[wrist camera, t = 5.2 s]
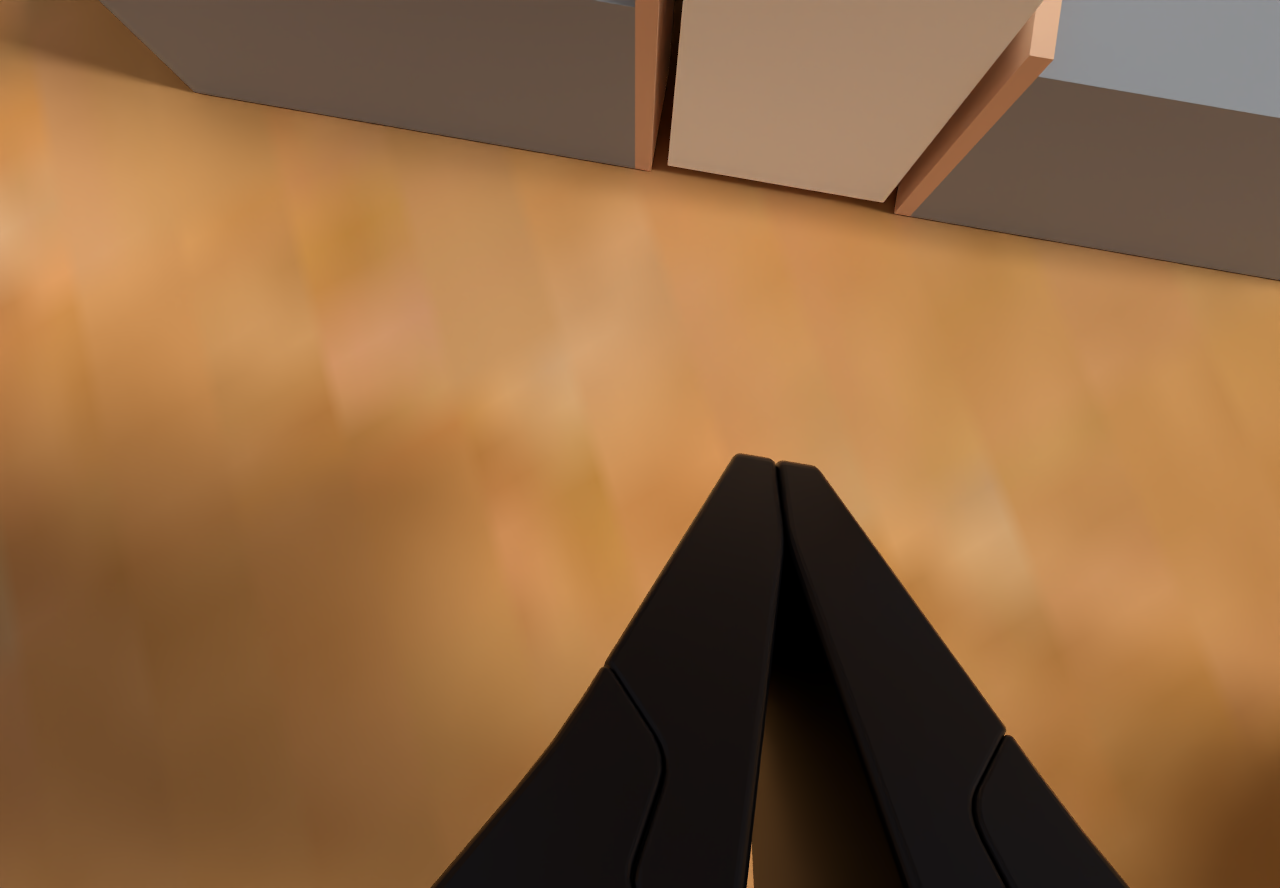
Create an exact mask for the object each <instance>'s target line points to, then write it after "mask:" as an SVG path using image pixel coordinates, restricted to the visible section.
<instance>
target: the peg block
mask: <svg viewBox="0 0 1280 888" xmlns="http://www.w3.org/2000/svg"><path fill="white" fill-rule="evenodd" d="M1043 1H1044V0H683V7H682V17H681V28H680V39H679V50H678V60H677V71H676V82H675V92H674V103H673V114H672V124H671V135H670V146H669V157H668V166H674V167H680V168H686V169H691V170H697V171H703V172H709V173H715V174H720V175H726V176H732V177H738V178H743V179H749V180H755V181H761V182H766V183H772V184H778V185H784V186H790V187H795V188H801V189H807V190H813V191H818V192H824V193H830V194H836V195H842V196H847V197H853V198H859V199H865V200H870V201H876V202H882V203H883V202H884V201H885V200H886V199H887V197H888V196H889V195H890V193H891V192H892V191H893V190H894V188H895V187H896V186H897V185H898V183H899V182H900V181H901V180H902V178H903V177H904V176H905V175H906V173H907V172H908V171H909V170H910V168H911V167H912V166H913V164H914V163H915V162H916V161H917V159H918V158H919V157H920V156H921V154H922V153H923V152H924V151H925V149H926V148H927V147H928V146H929V144H930V143H931V142H932V141H933V139H934V138H935V137H936V135H937V134H938V133H939V132H940V130H941V129H942V128H943V127H944V125H945V124H946V123H947V122H948V120H949V119H950V118H951V117H952V115H953V114H954V113H955V112H956V110H957V109H958V108H959V106H960V105H961V104H962V103H963V101H964V100H965V99H966V98H967V96H968V95H969V94H970V93H971V91H972V90H973V89H974V88H975V86H976V85H977V84H978V83H979V81H980V80H981V79H982V77H983V76H984V75H985V74H986V72H987V71H988V70H989V69H990V67H991V66H992V65H993V64H994V62H995V61H996V60H997V59H998V57H999V56H1000V55H1001V53H1002V52H1003V51H1004V50H1005V48H1006V47H1007V46H1008V45H1009V43H1010V42H1011V41H1012V40H1013V38H1014V37H1015V36H1016V35H1017V33H1018V32H1019V31H1020V30H1021V28H1022V27H1023V26H1024V24H1025V23H1026V22H1027V21H1028V19H1029V18H1030V17H1031V16H1032V14H1033V13H1034V12H1035V11H1036V9H1037V8H1038V7H1039V6H1040V4H1041V3H1042V2H1043Z"/></svg>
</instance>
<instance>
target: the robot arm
mask: <svg viewBox="0 0 1280 888" xmlns="http://www.w3.org/2000/svg"><path fill="white" fill-rule="evenodd" d="M1005 732H1006V728H1005V726H1004V725H1003V723H1002V722H1001V720H1000V719H999V718H998V716H997V715H996V714H995V712H994V711H993V709H992V708H991V707H990V705H989V704H988V702H987V701H986V700H985V698H984V697H983V696H982V694H981V693H980V691H979V690H978V689H977V687H976V686H975V684H974V683H973V682H972V680H971V679H970V678H969V676H968V675H967V673H966V672H965V671H964V669H963V668H962V666H961V665H960V664H959V662H958V661H957V660H956V658H955V657H954V655H953V654H952V653H951V651H950V650H949V648H948V647H947V646H946V644H945V643H944V642H943V640H942V639H941V637H940V636H939V635H938V633H937V632H936V631H935V629H934V628H933V626H932V625H931V624H930V622H929V621H928V619H927V618H926V617H925V615H924V614H923V613H922V611H921V610H920V608H919V607H918V606H917V604H916V603H915V601H914V600H913V599H912V597H911V596H910V595H909V593H908V592H907V590H906V589H905V588H904V586H903V585H902V583H901V582H900V581H899V579H898V578H897V577H896V575H895V574H894V572H893V571H892V570H891V568H890V567H889V565H888V564H887V563H886V561H885V560H884V559H883V557H882V556H881V554H880V553H879V552H878V550H877V549H876V547H875V546H874V545H873V543H872V542H871V541H870V539H869V538H868V536H867V535H866V534H865V532H864V531H863V529H862V528H861V527H860V525H859V524H858V523H857V521H856V520H855V518H854V517H853V516H852V514H851V513H850V512H849V510H848V509H847V507H846V506H845V505H844V503H843V502H842V500H841V499H840V498H839V496H838V495H837V494H836V492H835V491H834V489H833V488H832V487H831V485H830V484H829V482H828V481H827V480H826V478H825V477H824V476H823V474H822V473H821V471H820V470H819V469H818V468H816V467H815V466H812V465H807V464H801V463H795V462H789V461H779V462H778V463H776V465H775V462H774V461H773V460H771V459H770V458H765V457H759V456H753V455H748V454H742V453H741V454H736V455H735V456H734V457H733V458H732V460H731V461H730V463H729V464H728V466H727V468H726V469H725V471H724V472H723V474H722V476H721V477H720V479H719V480H718V482H717V484H716V485H715V487H714V488H713V490H712V492H711V493H710V495H709V496H708V498H707V500H706V501H705V503H704V504H703V506H702V508H701V509H700V511H699V512H698V514H697V516H696V517H695V519H694V520H693V522H692V524H691V525H690V527H689V528H688V530H687V532H686V533H685V535H684V536H683V538H682V540H681V541H680V543H679V544H678V546H677V548H676V549H675V551H674V552H673V554H672V556H671V557H670V559H669V560H668V562H667V564H666V565H665V567H664V568H663V570H662V572H661V573H660V575H659V576H658V578H657V580H656V581H655V583H654V584H653V586H652V588H651V589H650V591H649V592H648V594H647V596H646V597H645V599H644V600H643V602H642V604H641V605H640V607H639V608H638V610H637V612H636V613H635V615H634V616H633V618H632V620H631V621H630V623H629V624H628V626H627V628H626V629H625V631H624V632H623V634H622V636H621V637H620V639H619V640H618V642H617V644H616V645H615V647H614V648H613V650H612V652H611V653H610V655H609V656H608V658H607V660H606V661H605V665H604V667H602V668H601V669H600V670H599V672H598V673H597V675H596V676H595V678H594V679H593V681H592V683H591V684H590V686H589V687H588V689H587V691H586V692H585V694H584V695H583V697H582V698H581V700H580V701H579V703H578V704H577V706H576V707H575V709H574V710H573V712H572V713H571V715H570V716H569V718H568V719H567V720H566V722H565V723H564V725H563V726H562V728H561V729H560V731H559V732H558V734H557V735H556V737H555V738H554V740H553V741H552V742H551V744H550V745H549V746H548V747H547V749H546V750H545V751H544V752H543V754H542V755H541V756H540V758H539V759H538V760H537V761H536V763H535V764H534V765H533V766H532V768H531V769H530V770H529V772H528V773H527V774H526V775H525V777H524V778H523V779H522V780H521V782H520V783H519V784H518V785H517V787H516V788H515V789H514V790H513V792H512V793H511V794H510V795H509V796H508V798H507V799H506V800H505V801H504V802H503V803H502V805H501V806H500V807H499V808H498V809H497V810H496V812H495V813H494V814H493V815H492V816H491V818H490V819H489V820H488V821H487V822H486V823H485V825H484V826H483V827H482V828H481V829H480V830H479V832H478V833H477V834H476V835H475V836H474V837H473V839H472V840H471V841H470V842H469V843H468V845H467V846H466V847H465V848H464V849H463V850H462V852H461V853H460V854H459V855H458V856H457V857H456V859H455V860H454V861H453V862H452V863H451V864H450V866H449V867H448V868H447V869H446V870H445V872H444V873H443V874H442V875H441V876H440V877H439V879H438V880H437V881H436V882H435V883H434V884H433V886H432V887H431V888H746V887H747V878H748V870H749V861H750V852H751V843H752V857H753V879H754V888H1130V887H1129V886H1128V885H1127V884H1126V882H1125V881H1124V880H1123V879H1122V878H1121V876H1120V875H1119V874H1118V873H1117V872H1116V870H1115V869H1114V868H1113V867H1112V865H1111V864H1110V863H1109V862H1108V861H1107V859H1106V858H1105V857H1104V856H1103V855H1102V853H1101V852H1100V851H1099V850H1098V849H1097V847H1096V846H1095V845H1094V844H1093V842H1092V841H1091V840H1090V839H1089V838H1088V836H1087V835H1086V834H1085V833H1084V832H1083V830H1082V829H1081V828H1080V826H1079V825H1078V824H1077V823H1076V821H1075V820H1074V819H1073V817H1072V816H1071V815H1070V813H1069V812H1068V811H1067V809H1066V808H1065V807H1064V805H1063V804H1062V803H1061V801H1060V800H1059V799H1058V797H1057V796H1056V795H1055V794H1054V792H1053V791H1052V790H1051V788H1050V787H1049V786H1048V784H1047V783H1046V782H1045V780H1044V779H1043V778H1042V776H1041V775H1040V774H1039V772H1038V771H1037V770H1036V768H1035V767H1034V766H1033V764H1032V763H1031V761H1030V760H1029V759H1028V757H1027V756H1026V754H1025V753H1024V752H1023V750H1022V749H1021V748H1020V746H1019V745H1018V743H1017V742H1016V741H1015V739H1014V738H1013V737H1012V736H1010V735H1005ZM1004 735H1005V736H1004Z"/></svg>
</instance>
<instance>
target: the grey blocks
mask: <svg viewBox="0 0 1280 888" xmlns="http://www.w3.org/2000/svg"><path fill="white" fill-rule="evenodd" d="M99 1H100V2H101V3H102V4H103V5H104V6H105V7H106V8H107V9H108V10H109V11H111V12H112V13H113V14H114V15H115V16H116V17H117V18H118V19H119V20H120V21H121V22H122V23H123V24H124V25H125V26H126V27H127V28H128V29H129V30H130V31H131V32H132V33H133V34H134V35H135V36H137V37H138V38H139V39H140V40H141V41H142V42H143V43H144V44H145V45H146V46H147V47H148V48H149V49H150V50H151V51H152V52H153V53H154V54H155V55H156V56H157V57H158V58H159V59H160V60H161V61H163V62H164V63H165V64H166V65H167V66H168V67H169V68H170V69H171V70H172V71H173V72H174V73H175V74H176V75H177V76H178V77H179V78H180V79H181V80H182V81H183V82H184V83H185V84H186V85H187V86H189V87H190V88H191V89H192V90H193V91H194V92H196V93H202V94H208V95H214V96H219V97H225V98H231V99H237V100H242V101H248V102H254V103H260V104H266V105H271V106H277V107H283V108H289V109H294V110H300V111H306V112H312V113H317V114H323V115H329V116H335V117H341V118H346V119H352V120H358V121H364V122H369V123H375V124H381V125H387V126H392V127H398V128H404V129H410V130H416V131H421V132H427V133H433V134H439V135H444V136H450V137H456V138H462V139H467V140H473V141H479V142H485V143H491V144H496V145H502V146H508V147H514V148H519V149H525V150H531V151H537V152H542V153H548V154H554V155H560V156H566V157H571V158H577V159H583V160H589V161H594V162H600V163H606V164H612V165H617V166H623V167H629V168H635V169H641V170H646V171H651V168H652V162H653V157H654V151H655V146H656V140H657V135H658V129H659V124H660V118H661V113H662V107H663V102H664V96H665V90H666V85H667V79H668V74H669V66H670V53H671V40H672V27H673V14H674V1H675V0H99ZM894 214H900V215H906V216H912V217H918V218H923V219H929V220H935V221H941V222H946V223H952V224H958V225H964V226H969V227H975V228H981V229H987V230H993V231H998V232H1004V233H1010V234H1016V235H1021V236H1027V237H1033V238H1039V239H1044V240H1050V241H1056V242H1062V243H1068V244H1073V245H1079V246H1085V247H1091V248H1096V249H1102V250H1108V251H1114V252H1119V253H1125V254H1131V255H1137V256H1143V257H1148V258H1154V259H1160V260H1166V261H1171V262H1177V263H1183V264H1189V265H1194V266H1200V267H1206V268H1212V269H1218V270H1223V271H1229V272H1235V273H1241V274H1246V275H1252V276H1258V277H1264V278H1269V279H1275V280H1280V0H1044V1H1043V2H1042V3H1041V4H1040V6H1039V7H1038V8H1037V9H1036V11H1035V12H1034V13H1033V14H1032V16H1031V17H1030V18H1029V19H1028V21H1027V22H1026V23H1025V24H1024V26H1023V27H1022V28H1021V30H1020V31H1019V32H1018V33H1017V35H1016V36H1015V37H1014V38H1013V40H1012V41H1011V42H1010V43H1009V45H1008V46H1007V47H1006V48H1005V50H1004V51H1003V52H1002V53H1001V55H1000V56H999V57H998V59H997V60H996V61H995V62H994V64H993V65H992V66H991V67H990V69H989V70H988V71H987V72H986V74H985V75H984V76H983V77H982V79H981V80H980V81H979V83H978V84H977V85H976V86H975V88H974V89H973V90H972V91H971V93H970V94H969V95H968V96H967V98H966V99H965V100H964V101H963V103H962V104H961V105H960V106H959V108H958V109H957V110H956V112H955V113H954V114H953V115H952V117H951V118H950V119H949V120H948V122H947V123H946V124H945V125H944V127H943V128H942V129H941V130H940V132H939V133H938V134H937V135H936V137H935V138H934V139H933V141H932V142H931V143H930V144H929V146H928V147H927V148H926V149H925V151H924V152H923V153H922V154H921V156H920V157H919V158H918V159H917V161H916V162H915V163H914V164H913V166H912V167H911V168H910V170H909V171H908V172H907V173H906V175H905V176H904V177H903V178H902V180H901V181H900V182H899V185H898V191H897V198H896V204H895V210H894Z"/></svg>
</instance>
